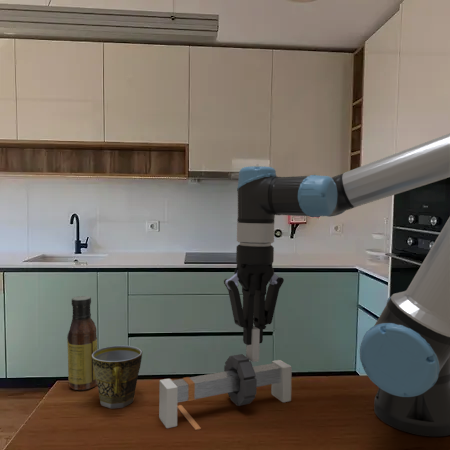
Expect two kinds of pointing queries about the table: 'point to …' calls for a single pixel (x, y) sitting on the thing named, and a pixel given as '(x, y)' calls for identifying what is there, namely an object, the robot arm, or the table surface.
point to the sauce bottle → (81, 345)
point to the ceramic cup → (117, 374)
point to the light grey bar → (223, 382)
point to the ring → (242, 379)
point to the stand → (170, 413)
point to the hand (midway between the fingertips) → (252, 359)
